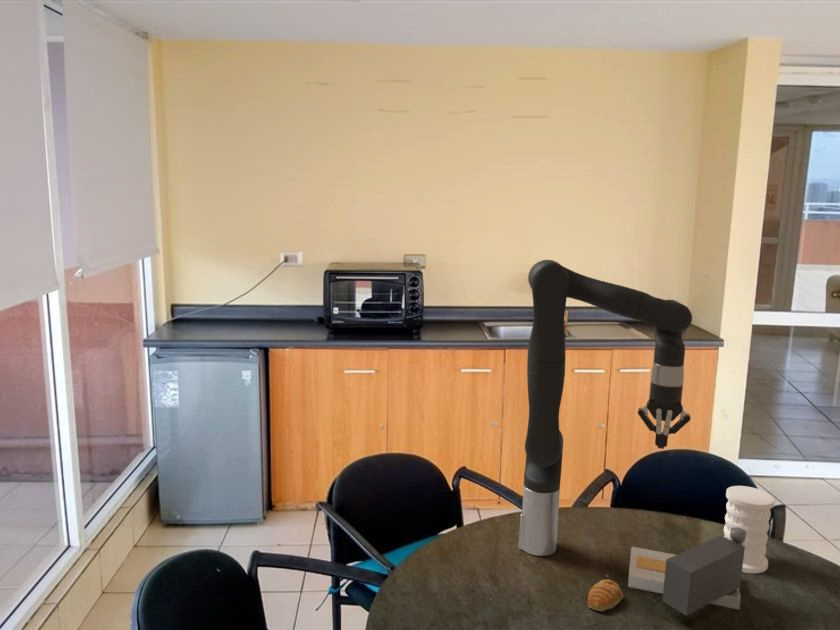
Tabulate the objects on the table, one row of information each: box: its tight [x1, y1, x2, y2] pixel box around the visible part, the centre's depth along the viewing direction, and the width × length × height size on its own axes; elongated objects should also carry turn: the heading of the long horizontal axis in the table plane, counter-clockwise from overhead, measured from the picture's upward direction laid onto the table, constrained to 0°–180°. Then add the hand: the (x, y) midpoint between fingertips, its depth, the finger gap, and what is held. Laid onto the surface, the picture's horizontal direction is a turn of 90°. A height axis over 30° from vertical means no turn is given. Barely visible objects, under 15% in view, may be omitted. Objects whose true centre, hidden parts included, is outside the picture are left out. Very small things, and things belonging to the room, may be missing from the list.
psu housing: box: [627, 540, 743, 610], centre depth 158 cm, size 24×14×13 cm, turn 70°
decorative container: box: [723, 485, 775, 574], centre depth 168 cm, size 12×12×18 cm
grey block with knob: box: [661, 527, 746, 616], centre depth 148 cm, size 24×6×12 cm, turn 123°
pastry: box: [587, 579, 624, 612], centre depth 150 cm, size 9×7×4 cm
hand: (660, 447), depth 167 cm, fingers closed
